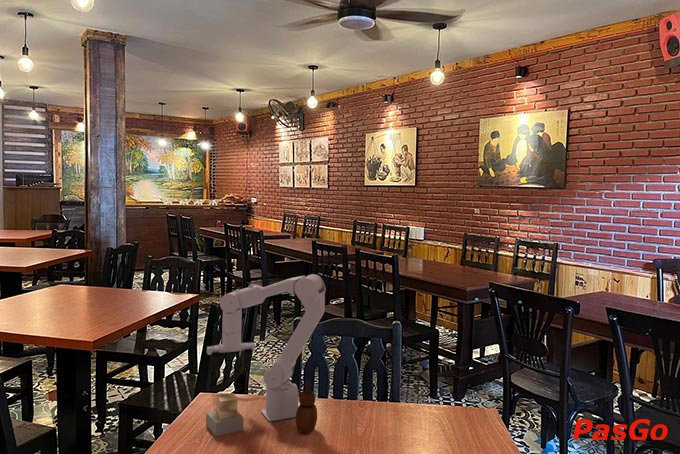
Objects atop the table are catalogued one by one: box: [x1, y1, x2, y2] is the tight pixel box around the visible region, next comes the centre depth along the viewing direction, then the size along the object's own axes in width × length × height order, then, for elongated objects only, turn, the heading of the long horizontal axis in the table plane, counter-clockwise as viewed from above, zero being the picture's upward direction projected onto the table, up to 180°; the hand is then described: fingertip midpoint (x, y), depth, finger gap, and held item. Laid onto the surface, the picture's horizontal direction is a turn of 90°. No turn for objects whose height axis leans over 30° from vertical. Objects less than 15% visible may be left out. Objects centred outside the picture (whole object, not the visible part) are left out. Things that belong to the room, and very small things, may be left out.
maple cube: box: [215, 392, 239, 419], centre depth 144 cm, size 5×5×5 cm
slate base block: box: [205, 410, 244, 437], centre depth 144 cm, size 8×8×4 cm
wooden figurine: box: [295, 380, 318, 435], centre depth 144 cm, size 7×6×15 cm
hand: (230, 374), depth 157 cm, fingers open, 7 cm apart
